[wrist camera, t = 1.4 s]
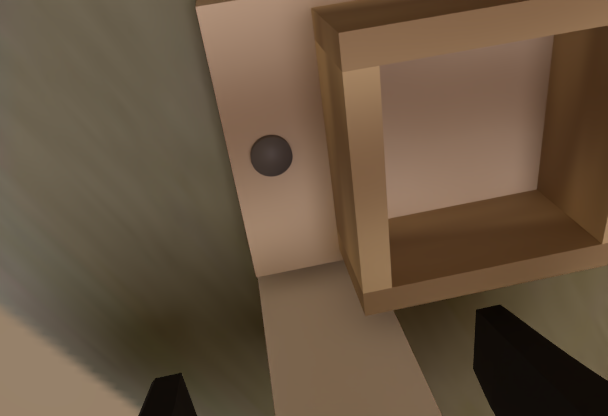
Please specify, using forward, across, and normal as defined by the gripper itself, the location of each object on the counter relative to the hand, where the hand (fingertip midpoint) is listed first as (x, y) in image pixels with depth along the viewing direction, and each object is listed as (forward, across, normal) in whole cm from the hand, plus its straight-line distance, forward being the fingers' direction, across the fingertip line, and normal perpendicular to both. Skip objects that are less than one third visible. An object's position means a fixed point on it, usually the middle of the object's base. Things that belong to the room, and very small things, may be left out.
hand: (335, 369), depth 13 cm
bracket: (+3, -4, -5) cm, 7 cm away
